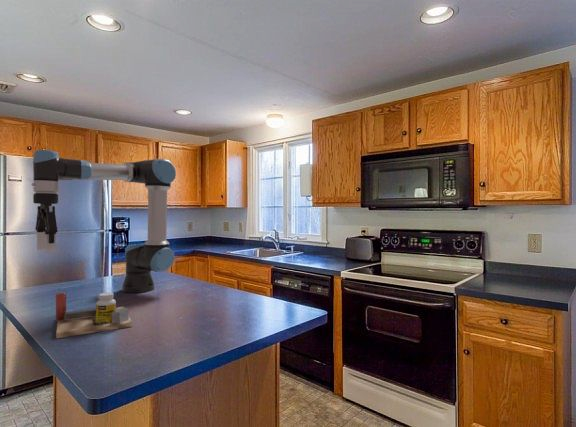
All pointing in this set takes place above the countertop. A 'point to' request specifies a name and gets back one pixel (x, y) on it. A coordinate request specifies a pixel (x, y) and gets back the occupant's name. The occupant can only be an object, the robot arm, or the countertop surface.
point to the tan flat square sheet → (85, 326)
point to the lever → (64, 315)
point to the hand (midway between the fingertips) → (45, 251)
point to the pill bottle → (105, 308)
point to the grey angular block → (120, 316)
